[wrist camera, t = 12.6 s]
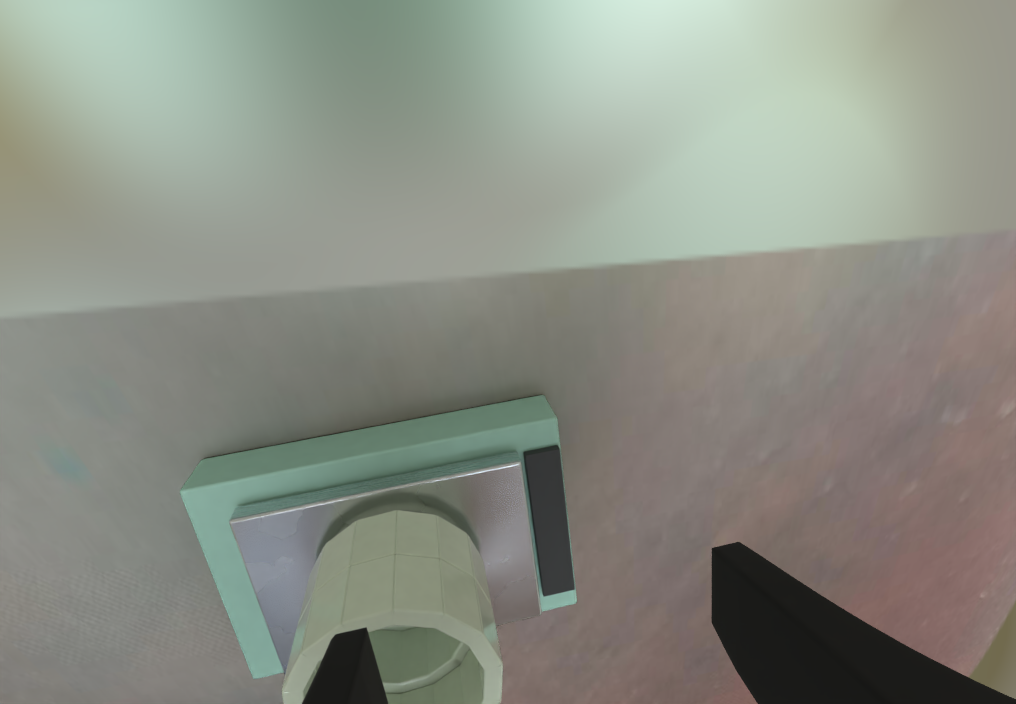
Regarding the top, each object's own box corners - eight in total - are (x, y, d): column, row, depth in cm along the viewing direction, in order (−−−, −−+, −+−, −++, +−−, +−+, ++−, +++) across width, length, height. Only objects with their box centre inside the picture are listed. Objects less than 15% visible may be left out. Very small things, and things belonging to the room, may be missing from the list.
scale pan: (289, 657, 19) (284, 677, 19) (234, 505, 17) (227, 521, 16) (538, 599, 20) (543, 616, 20) (517, 449, 18) (521, 461, 17)
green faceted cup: (366, 662, 19) (353, 804, 15) (278, 547, 17) (235, 674, 13) (507, 594, 19) (535, 716, 15) (437, 472, 17) (445, 574, 13)
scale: (266, 635, 21) (250, 688, 19) (200, 458, 19) (173, 497, 17) (564, 568, 23) (580, 610, 21) (543, 393, 20) (560, 421, 18)
